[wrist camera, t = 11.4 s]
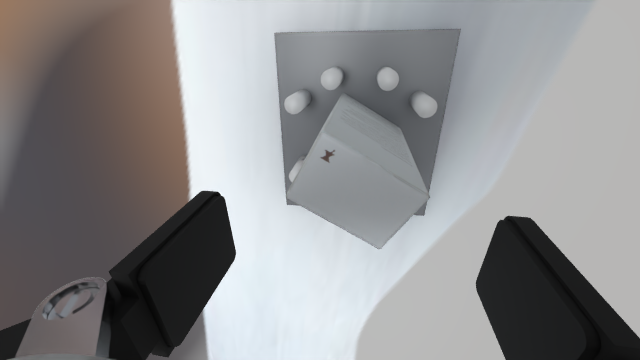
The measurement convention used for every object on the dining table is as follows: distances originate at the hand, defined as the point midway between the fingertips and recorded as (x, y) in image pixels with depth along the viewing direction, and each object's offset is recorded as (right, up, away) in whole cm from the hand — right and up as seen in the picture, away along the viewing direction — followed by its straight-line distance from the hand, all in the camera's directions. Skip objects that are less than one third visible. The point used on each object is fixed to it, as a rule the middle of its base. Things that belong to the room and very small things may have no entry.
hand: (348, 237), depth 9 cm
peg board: (+3, +7, +15) cm, 17 cm away
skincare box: (+3, +6, +14) cm, 16 cm away
